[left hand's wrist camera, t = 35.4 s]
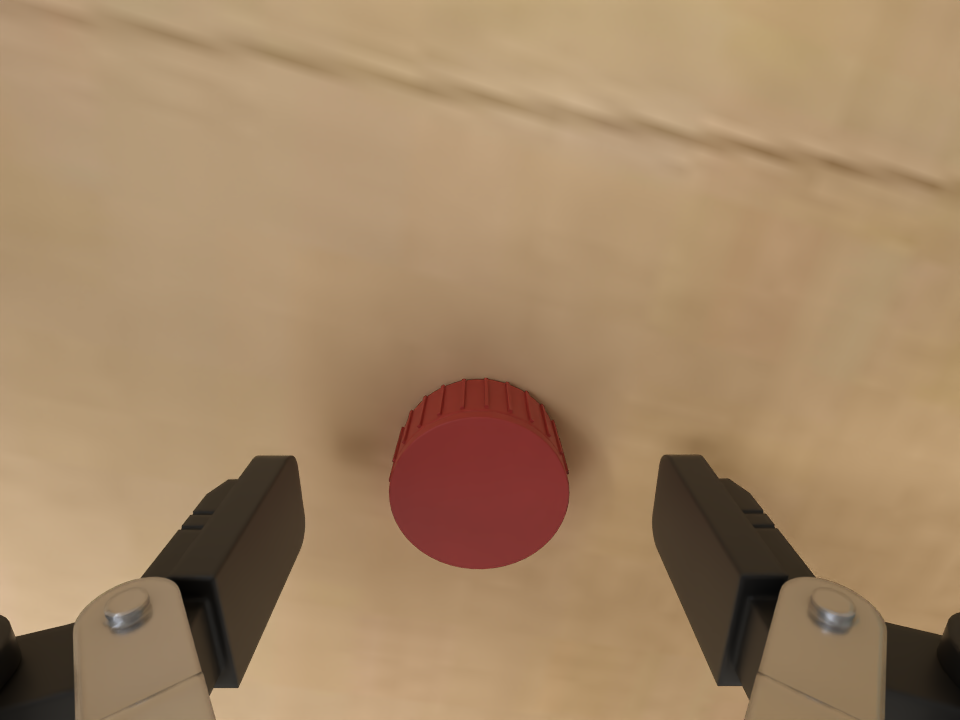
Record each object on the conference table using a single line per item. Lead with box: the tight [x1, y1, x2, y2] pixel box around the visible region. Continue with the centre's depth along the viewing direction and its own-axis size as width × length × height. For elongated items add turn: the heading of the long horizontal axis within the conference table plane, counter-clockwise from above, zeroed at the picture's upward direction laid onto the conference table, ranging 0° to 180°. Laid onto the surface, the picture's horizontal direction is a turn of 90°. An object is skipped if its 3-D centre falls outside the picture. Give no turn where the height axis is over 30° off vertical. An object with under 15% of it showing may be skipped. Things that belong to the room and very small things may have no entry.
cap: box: [389, 378, 569, 569], centre depth 13 cm, size 4×4×2 cm
